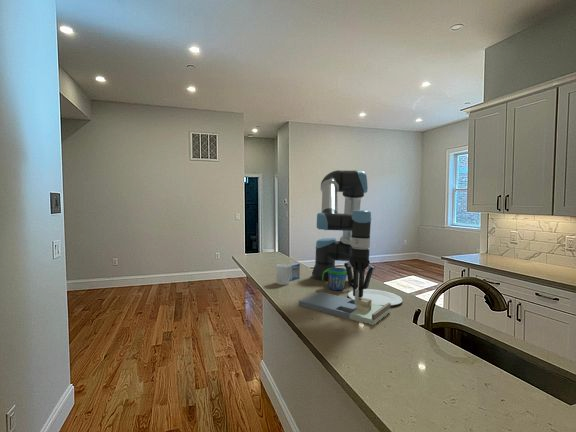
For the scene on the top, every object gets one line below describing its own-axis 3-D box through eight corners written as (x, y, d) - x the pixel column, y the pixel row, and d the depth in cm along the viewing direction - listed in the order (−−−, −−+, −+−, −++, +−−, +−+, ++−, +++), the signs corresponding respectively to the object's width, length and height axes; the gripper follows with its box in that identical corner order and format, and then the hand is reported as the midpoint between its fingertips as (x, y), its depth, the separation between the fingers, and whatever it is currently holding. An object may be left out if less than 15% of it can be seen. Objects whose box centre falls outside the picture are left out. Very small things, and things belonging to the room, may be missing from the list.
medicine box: (291, 280, 180) (292, 265, 180) (285, 279, 183) (285, 264, 183) (299, 278, 187) (300, 263, 186) (293, 277, 189) (294, 262, 189)
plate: (341, 302, 145) (341, 299, 145) (354, 289, 168) (354, 286, 168) (399, 312, 134) (399, 308, 134) (405, 297, 157) (405, 293, 157)
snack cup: (350, 286, 171) (351, 268, 171) (352, 292, 161) (353, 272, 160) (321, 285, 173) (322, 266, 172) (321, 290, 162) (322, 270, 162)
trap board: (319, 295, 153) (320, 287, 153) (390, 312, 133) (390, 303, 133) (298, 305, 139) (299, 296, 138) (374, 325, 119) (374, 314, 118)
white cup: (283, 280, 180) (283, 263, 179) (293, 283, 174) (293, 265, 173) (272, 283, 174) (273, 264, 173) (282, 286, 168) (283, 267, 168)
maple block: (360, 306, 133) (361, 297, 133) (371, 309, 130) (371, 299, 130) (356, 309, 129) (356, 299, 129) (366, 312, 127) (367, 302, 127)
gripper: (341, 246, 132) (339, 303, 133) (371, 250, 124) (368, 310, 125) (349, 245, 138) (347, 299, 139) (378, 248, 130) (376, 305, 131)
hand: (357, 304), depth 132 cm, fingers closed
